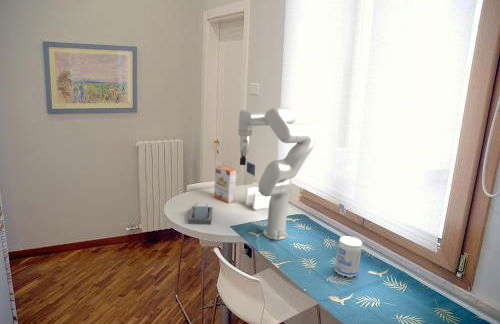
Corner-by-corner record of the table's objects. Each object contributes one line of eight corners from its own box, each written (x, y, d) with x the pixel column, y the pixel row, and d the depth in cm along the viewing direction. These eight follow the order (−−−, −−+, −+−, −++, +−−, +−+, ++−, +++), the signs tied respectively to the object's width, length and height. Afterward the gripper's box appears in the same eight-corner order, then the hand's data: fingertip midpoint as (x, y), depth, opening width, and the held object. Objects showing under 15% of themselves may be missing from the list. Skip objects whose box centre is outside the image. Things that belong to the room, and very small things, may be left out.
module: (207, 219, 203) (207, 206, 202) (194, 218, 203) (194, 206, 201) (207, 215, 208) (208, 203, 206) (195, 215, 207) (195, 202, 206)
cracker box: (213, 197, 239) (215, 166, 234) (220, 195, 243) (222, 165, 238) (227, 203, 229) (229, 171, 225) (234, 202, 234) (237, 170, 229)
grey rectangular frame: (210, 224, 196) (211, 220, 195) (188, 223, 195) (188, 219, 195) (212, 211, 215) (212, 206, 215) (191, 209, 215) (191, 205, 214)
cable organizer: (264, 202, 237) (266, 185, 234) (274, 208, 228) (276, 190, 225) (244, 205, 228) (246, 187, 226) (254, 211, 220) (255, 193, 217)
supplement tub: (332, 274, 155) (336, 242, 152) (336, 264, 164) (341, 233, 160) (355, 280, 151) (361, 248, 148) (359, 270, 160) (364, 239, 157)
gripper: (252, 135, 198) (249, 168, 202) (250, 131, 212) (248, 162, 216) (238, 134, 197) (236, 167, 201) (237, 130, 212) (235, 161, 216)
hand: (242, 164), depth 209 cm, fingers closed
